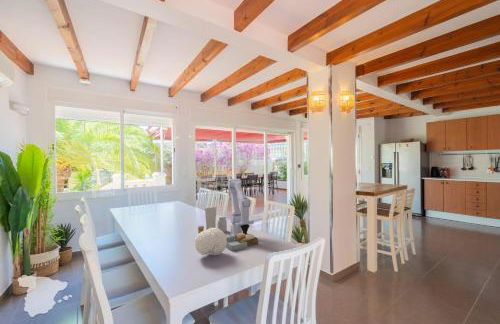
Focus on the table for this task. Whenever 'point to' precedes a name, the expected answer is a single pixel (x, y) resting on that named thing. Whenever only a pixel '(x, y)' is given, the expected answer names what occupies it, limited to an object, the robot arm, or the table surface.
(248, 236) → the tile
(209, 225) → the toiletry set
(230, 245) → the tray
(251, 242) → the board
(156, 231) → the table surface
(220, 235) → the cauliflower
